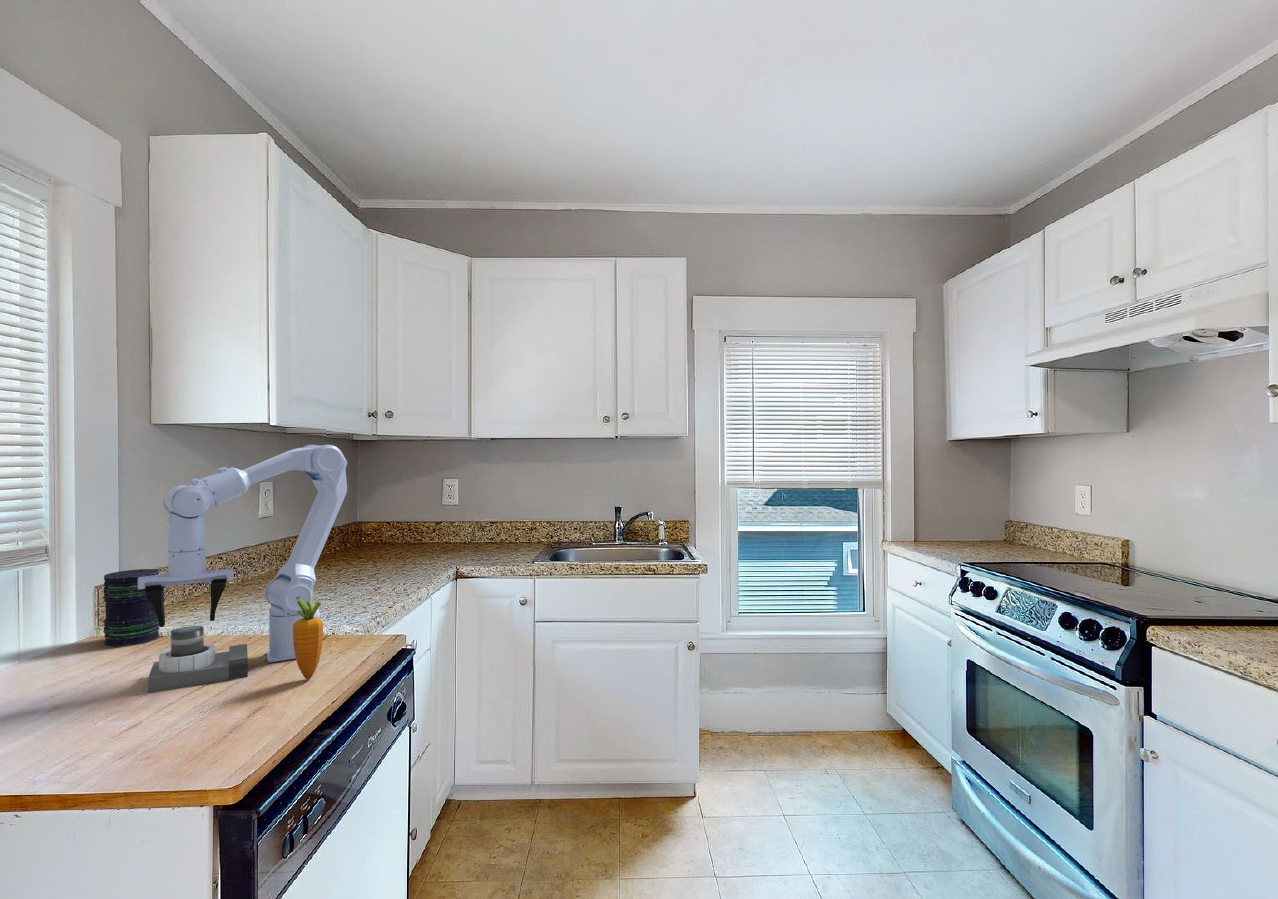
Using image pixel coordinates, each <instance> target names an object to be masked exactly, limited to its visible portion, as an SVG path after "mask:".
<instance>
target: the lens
mask: <svg viewBox="0 0 1278 899" xmlns="http://www.w3.org/2000/svg"><path fill="white" fill-rule="evenodd" d="M204 628H205V627H204V626H201V625H189V626H182V627H179V628H174V629H172V630H171V631H170V649H171V657H183V656H190V655H195V654H199V653H202V652H204V644H205V642H204V641H205V640H204V639H205V634H204V633H205V632H204V631H205V630H204Z"/></svg>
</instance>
